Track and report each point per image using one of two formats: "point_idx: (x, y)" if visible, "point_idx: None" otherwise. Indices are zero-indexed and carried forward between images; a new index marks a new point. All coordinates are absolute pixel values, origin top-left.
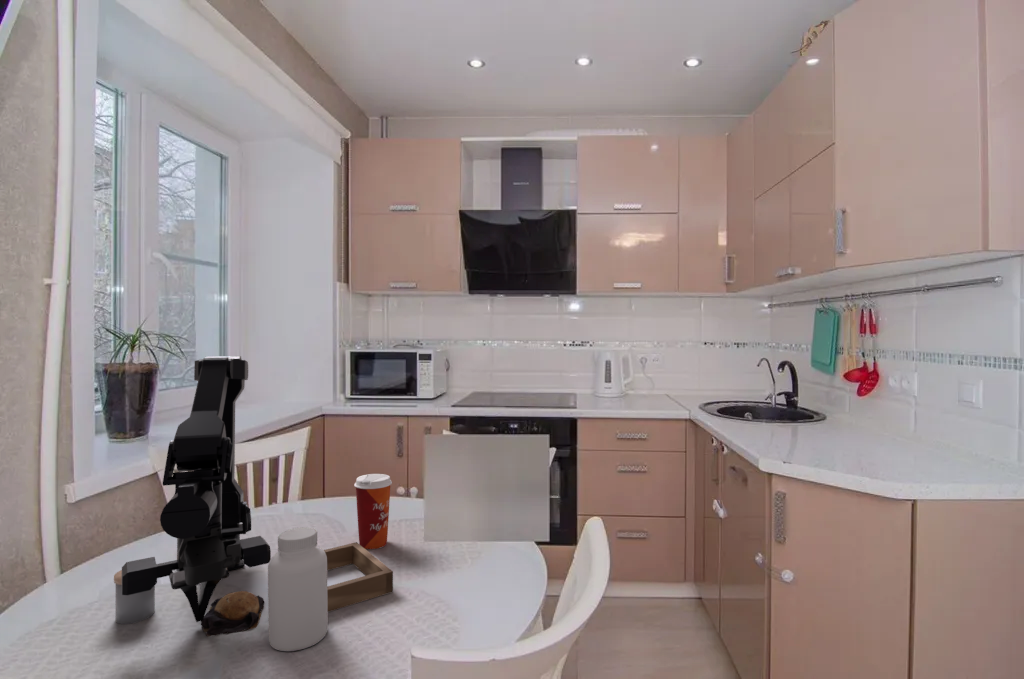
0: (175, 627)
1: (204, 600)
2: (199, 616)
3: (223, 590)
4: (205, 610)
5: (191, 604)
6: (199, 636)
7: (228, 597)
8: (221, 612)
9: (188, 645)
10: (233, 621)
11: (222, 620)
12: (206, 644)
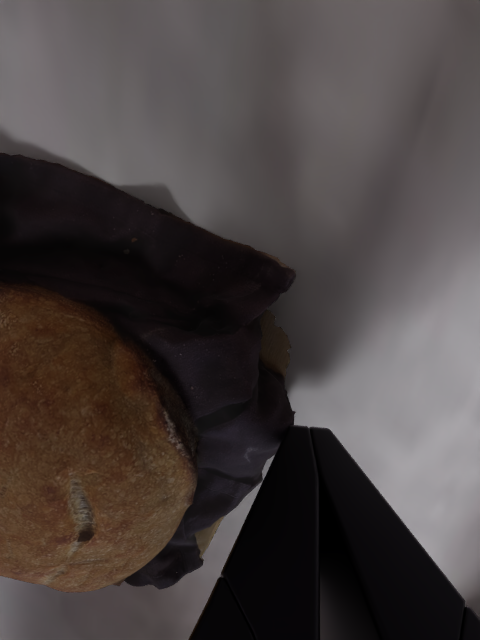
0: (402, 486)
1: (291, 579)
2: (316, 449)
3: (132, 634)
4: (272, 474)
5: (440, 588)
6: (330, 299)
7: (75, 546)
8: (153, 412)
9: (434, 216)
10: (93, 295)
11: (163, 332)
12: (325, 130)
